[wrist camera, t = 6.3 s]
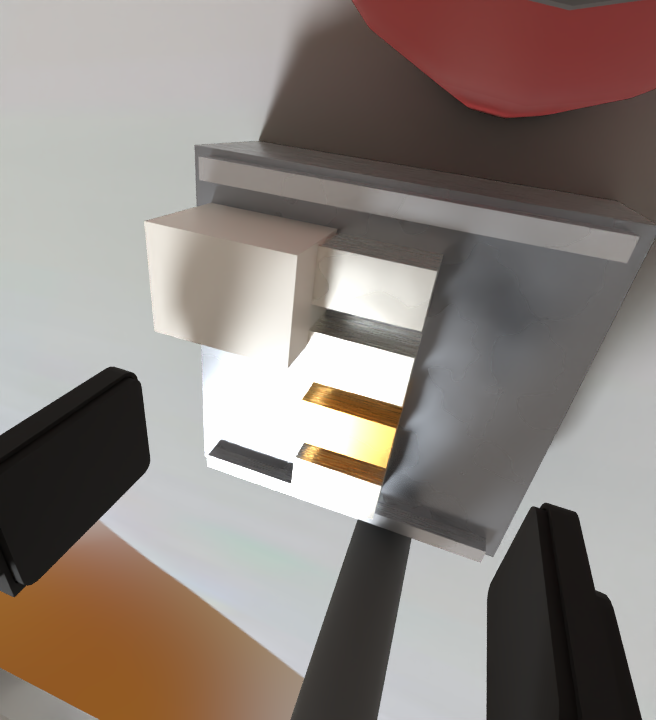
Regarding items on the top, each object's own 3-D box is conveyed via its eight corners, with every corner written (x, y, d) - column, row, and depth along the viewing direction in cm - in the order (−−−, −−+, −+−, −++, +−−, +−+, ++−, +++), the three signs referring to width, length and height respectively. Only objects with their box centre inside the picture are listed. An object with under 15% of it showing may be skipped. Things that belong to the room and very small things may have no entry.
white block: (337, 228, 12) (297, 255, 10) (324, 324, 14) (287, 369, 11) (211, 202, 13) (143, 221, 10) (212, 295, 14) (154, 330, 12)
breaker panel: (617, 200, 13) (688, 242, 8) (492, 481, 19) (493, 597, 14) (257, 140, 16) (159, 147, 11) (248, 405, 22) (182, 482, 17)
